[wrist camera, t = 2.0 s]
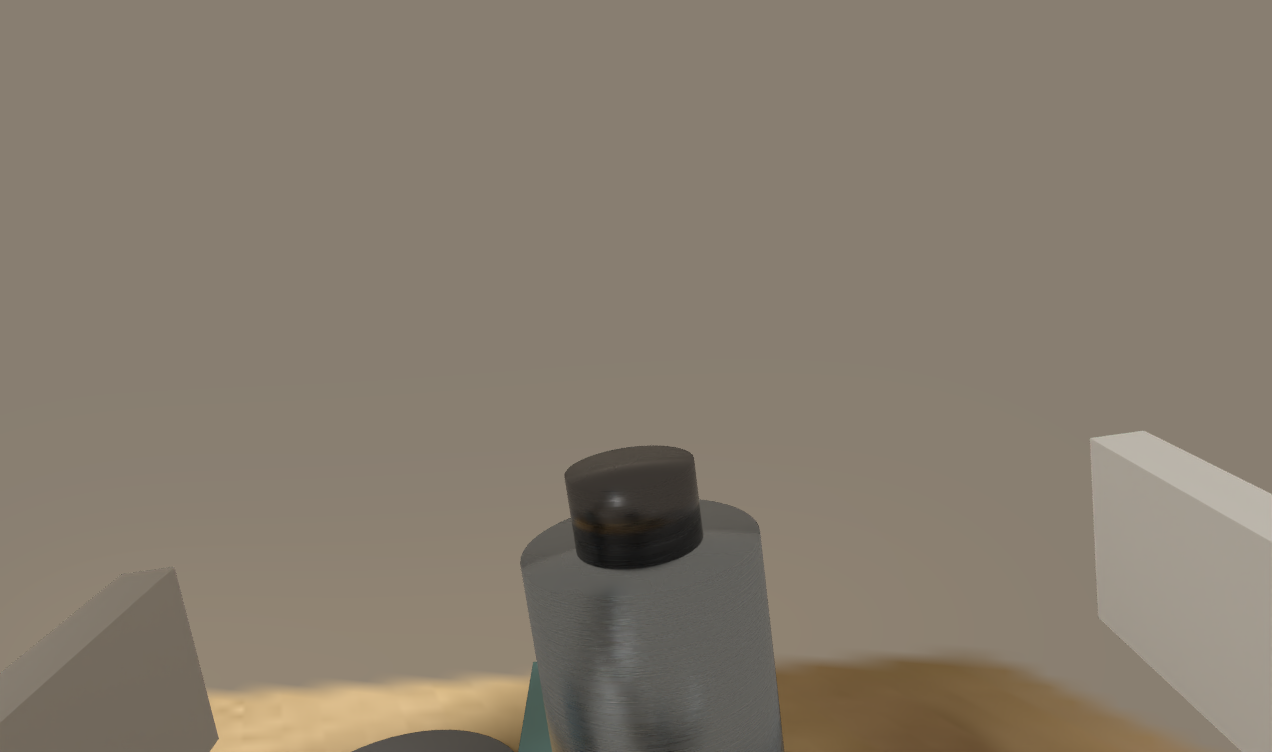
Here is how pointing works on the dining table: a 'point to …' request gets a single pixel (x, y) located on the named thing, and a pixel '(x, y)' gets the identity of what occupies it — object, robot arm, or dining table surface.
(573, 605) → the bottle
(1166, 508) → the robot arm
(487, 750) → the coaster
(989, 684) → the dining table surface
